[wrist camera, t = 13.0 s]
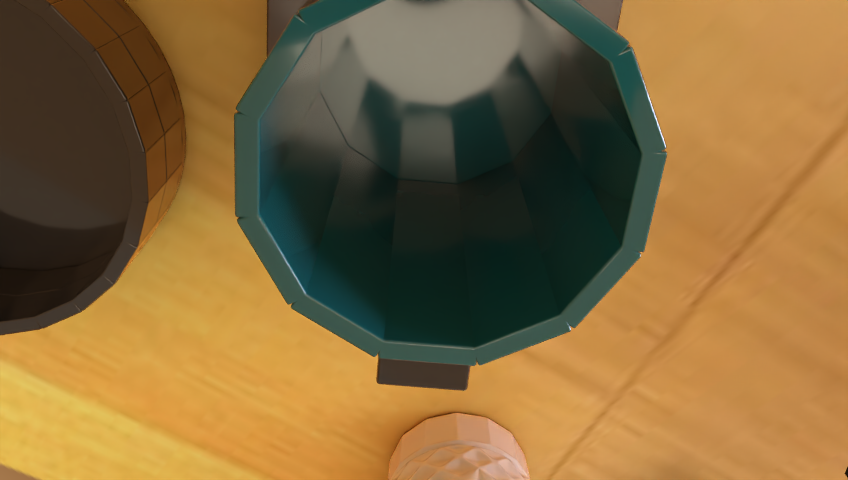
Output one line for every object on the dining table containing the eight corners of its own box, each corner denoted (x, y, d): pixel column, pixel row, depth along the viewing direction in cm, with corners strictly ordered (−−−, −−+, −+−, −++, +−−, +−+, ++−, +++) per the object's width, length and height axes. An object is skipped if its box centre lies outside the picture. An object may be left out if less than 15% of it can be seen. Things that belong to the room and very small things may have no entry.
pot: (313, -139, 27) (231, -147, 16) (601, -109, 27) (726, -96, 16) (302, 215, 32) (235, 398, 21) (542, 235, 33) (603, 426, 22)
